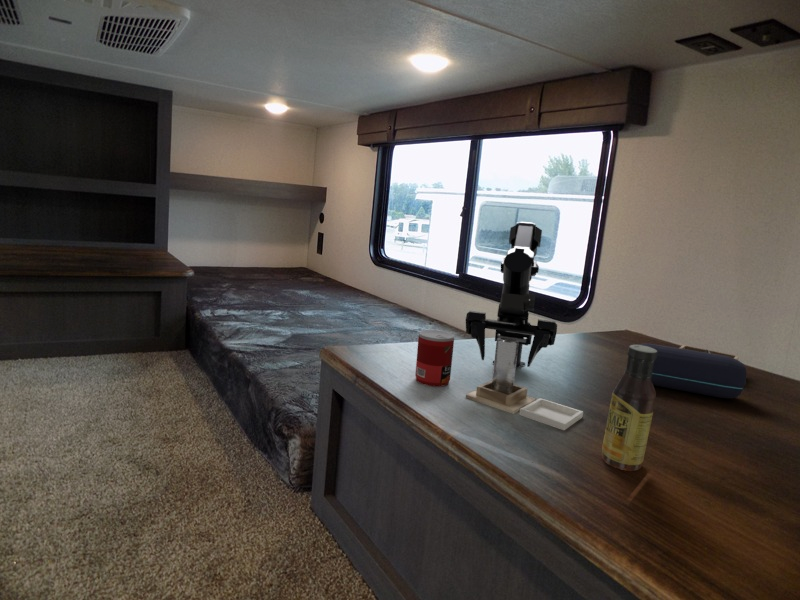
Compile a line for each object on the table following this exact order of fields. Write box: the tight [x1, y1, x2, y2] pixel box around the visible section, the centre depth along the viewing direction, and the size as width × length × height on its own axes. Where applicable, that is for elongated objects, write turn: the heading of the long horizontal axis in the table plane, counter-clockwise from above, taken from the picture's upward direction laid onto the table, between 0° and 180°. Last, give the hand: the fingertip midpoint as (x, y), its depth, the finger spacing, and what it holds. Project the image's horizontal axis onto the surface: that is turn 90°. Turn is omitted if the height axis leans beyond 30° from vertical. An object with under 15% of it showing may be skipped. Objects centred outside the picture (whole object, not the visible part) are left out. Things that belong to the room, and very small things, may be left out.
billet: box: [491, 338, 519, 395], centre depth 105 cm, size 4×4×12 cm
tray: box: [518, 398, 584, 431], centre depth 99 cm, size 9×9×2 cm
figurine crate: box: [679, 344, 740, 361], centre depth 141 cm, size 11×14×5 cm
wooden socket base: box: [465, 380, 537, 415], centre depth 106 cm, size 10×11×3 cm
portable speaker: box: [626, 342, 747, 399], centre depth 123 cm, size 25×10×10 cm, turn 66°
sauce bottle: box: [601, 344, 657, 472], centre depth 80 cm, size 6×6×20 cm
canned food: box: [415, 329, 455, 387], centre depth 115 cm, size 8×8×11 cm
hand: (505, 362), depth 104 cm, fingers open, 9 cm apart
